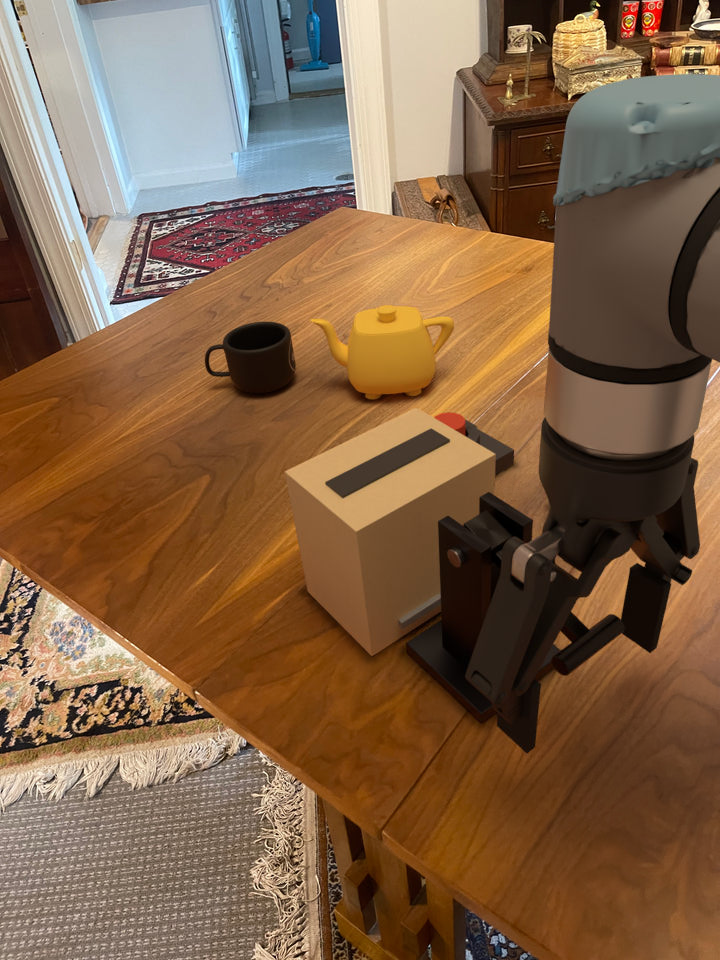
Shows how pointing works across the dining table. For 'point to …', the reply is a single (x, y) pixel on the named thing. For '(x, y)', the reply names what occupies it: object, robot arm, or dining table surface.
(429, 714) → the dining table surface
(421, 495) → the toaster
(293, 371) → the mug
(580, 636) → the lever
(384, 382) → the teapot
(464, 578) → the lever bracket
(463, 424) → the button
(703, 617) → the dining table surface
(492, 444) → the button block
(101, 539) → the dining table surface
